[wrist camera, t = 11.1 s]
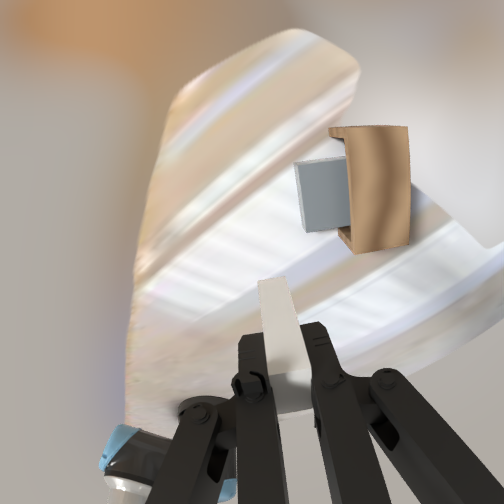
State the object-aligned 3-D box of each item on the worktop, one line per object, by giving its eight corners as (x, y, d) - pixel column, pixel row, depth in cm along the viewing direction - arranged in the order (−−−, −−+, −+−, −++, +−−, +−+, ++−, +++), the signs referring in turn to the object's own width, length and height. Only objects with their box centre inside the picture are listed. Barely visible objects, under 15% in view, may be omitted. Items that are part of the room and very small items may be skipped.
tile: (301, 225, 39) (306, 232, 37) (293, 162, 36) (297, 165, 33) (377, 212, 39) (386, 219, 36) (374, 153, 35) (384, 155, 33)
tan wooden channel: (338, 235, 40) (354, 254, 34) (328, 127, 33) (346, 128, 27) (387, 227, 40) (408, 244, 33) (382, 125, 33) (407, 126, 27)
